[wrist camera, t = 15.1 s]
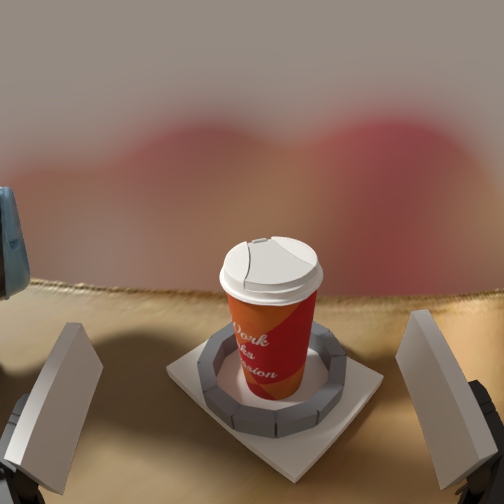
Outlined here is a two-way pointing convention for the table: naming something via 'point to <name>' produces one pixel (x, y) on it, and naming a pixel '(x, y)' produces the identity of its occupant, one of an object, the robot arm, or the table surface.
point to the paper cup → (272, 311)
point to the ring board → (279, 411)
